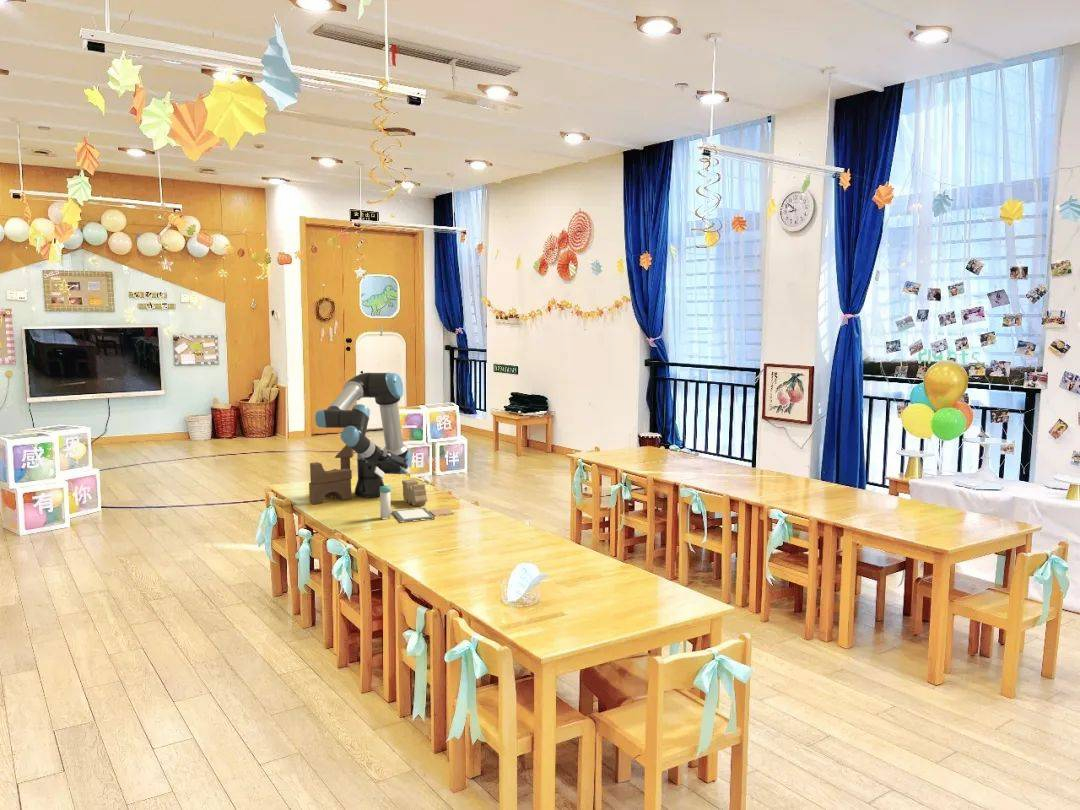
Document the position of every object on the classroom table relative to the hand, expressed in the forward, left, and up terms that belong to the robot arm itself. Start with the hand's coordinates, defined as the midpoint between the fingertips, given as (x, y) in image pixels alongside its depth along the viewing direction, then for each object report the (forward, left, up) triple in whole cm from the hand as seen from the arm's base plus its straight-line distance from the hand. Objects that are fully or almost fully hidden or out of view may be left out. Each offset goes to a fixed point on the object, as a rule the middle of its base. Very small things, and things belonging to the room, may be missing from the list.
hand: (396, 473), depth 351 cm
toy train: (-19, +12, -19) cm, 30 cm away
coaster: (+3, +19, -19) cm, 27 cm away
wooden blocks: (-46, -23, -19) cm, 55 cm away
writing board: (+3, +6, -19) cm, 20 cm away
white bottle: (+2, -6, -19) cm, 20 cm away
